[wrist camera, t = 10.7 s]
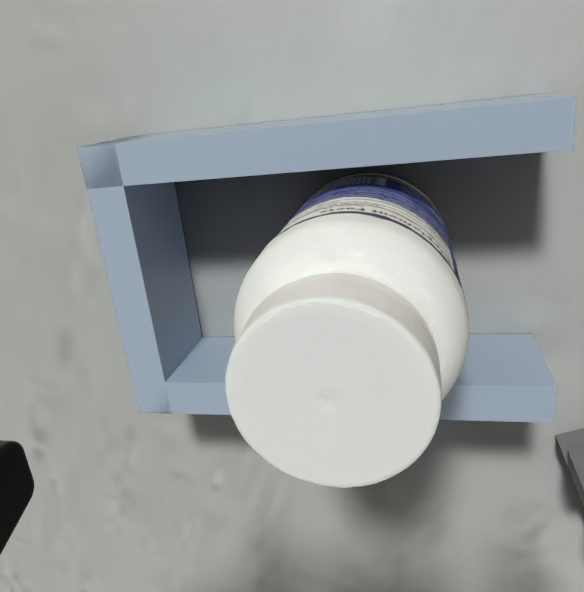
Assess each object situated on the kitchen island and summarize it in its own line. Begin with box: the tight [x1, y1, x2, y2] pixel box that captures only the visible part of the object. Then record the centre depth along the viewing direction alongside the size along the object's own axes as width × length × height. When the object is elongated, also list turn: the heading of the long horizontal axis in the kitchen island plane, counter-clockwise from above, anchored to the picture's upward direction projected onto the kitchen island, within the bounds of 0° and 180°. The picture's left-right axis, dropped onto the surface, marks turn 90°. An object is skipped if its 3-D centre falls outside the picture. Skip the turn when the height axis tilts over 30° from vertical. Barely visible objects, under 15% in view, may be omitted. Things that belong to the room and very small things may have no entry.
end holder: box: [77, 94, 577, 423], centre depth 17 cm, size 13×9×4 cm
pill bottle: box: [225, 173, 469, 488], centre depth 14 cm, size 5×5×10 cm
